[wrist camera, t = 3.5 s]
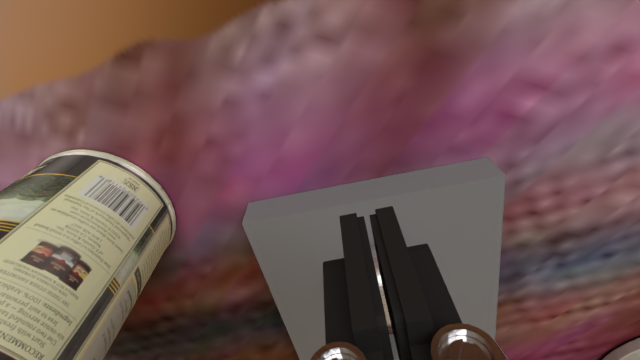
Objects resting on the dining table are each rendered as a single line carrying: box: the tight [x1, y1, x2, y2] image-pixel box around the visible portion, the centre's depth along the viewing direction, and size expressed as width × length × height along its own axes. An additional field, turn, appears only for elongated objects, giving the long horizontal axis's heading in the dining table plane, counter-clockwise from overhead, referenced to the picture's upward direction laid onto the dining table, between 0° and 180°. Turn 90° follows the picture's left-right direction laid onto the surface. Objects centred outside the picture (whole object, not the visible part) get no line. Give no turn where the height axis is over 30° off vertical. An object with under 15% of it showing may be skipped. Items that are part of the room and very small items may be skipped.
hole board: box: [242, 157, 506, 360], centre depth 28 cm, size 17×20×2 cm
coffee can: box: [0, 150, 176, 360], centre depth 19 cm, size 10×10×14 cm
